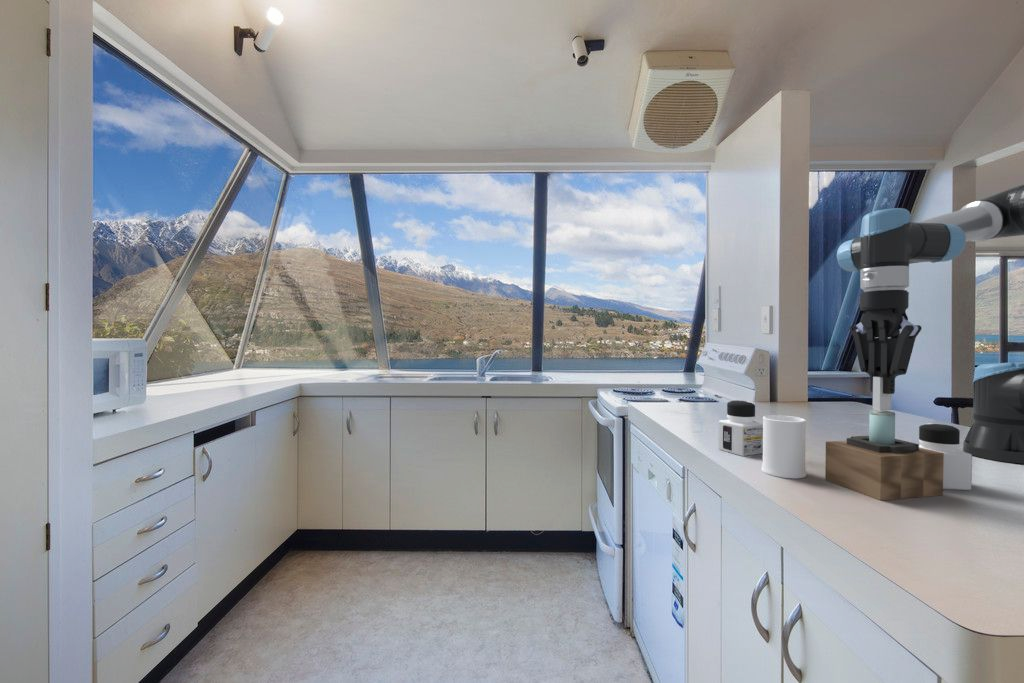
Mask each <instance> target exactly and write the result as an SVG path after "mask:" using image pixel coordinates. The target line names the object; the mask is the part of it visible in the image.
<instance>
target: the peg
mask: <svg viewBox="0 0 1024 683" xmlns="http://www.w3.org/2000/svg"><path fill="white" fill-rule="evenodd" d="M868 412H869V413H868V414H869V415H868V417H869V418H868V419H869V420H868V422H869V426H868V433H869V434H868V436H869V441H870V442H874V443H879V444H883V445H887V444H895V439H896V412H894V411H891V410H883V411H879V410H873V409H872V410H871V409H870V410H869V411H868Z"/></svg>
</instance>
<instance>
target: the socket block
mask: <svg viewBox="0 0 1024 683" xmlns="http://www.w3.org/2000/svg"><path fill="white" fill-rule="evenodd" d="M919 445H920V443H915V442H910V441H906V440H902V439H899V438H895V444H887V445H883V444H879V443H874V442H870V441H869V435H859V436H858V435H857V436H856V435H854V436H850V437H846V440H831V441H825V467H824V469H825V472H824V473H825V481H827V482H830V483H832V484H836V485H838V486H841V487H843V488H846V489H849V490H852V491H854V492H857V493H859V494H863V495H864V496H867V497H871V498H873V499H876V500H878V501H887V500H891V501H892V500H899V499H914V498H923V497H924V498H925V497H936V496H938V497H939V496H944V489H943V461H944V453H941V452H937V451H933V450H928V449H924V448H920V447H919Z"/></svg>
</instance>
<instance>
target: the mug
mask: <svg viewBox="0 0 1024 683" xmlns="http://www.w3.org/2000/svg"><path fill="white" fill-rule="evenodd" d="M806 422H807V421H806V419H805V418H802V417H798V416H792V415H791V416H790V415H784V414H783V415H781V414H779V415H778V414H769V415H764V416H763V417H762V423H763V453H762V465H761V472H763V473H765V474H766V475H769V476H771V477H772V476H773V477H777V478H783V479H794V480H796V479H803V478H806V477H807V472H806V471H807V470H806V428H807V427H806V424H807V423H806Z"/></svg>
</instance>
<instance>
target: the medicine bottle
mask: <svg viewBox="0 0 1024 683" xmlns="http://www.w3.org/2000/svg"><path fill="white" fill-rule="evenodd" d="M918 428H919V429H918V442H919V443H918V444H919V447H920V448H924V449H928V450H933V451H937V452H941V453H944V461H943V490H954V491H957V490H959V491H960V490H961V491H962V490H963V491H971V490H972V481H973V480H972V475H973V473H972V470H973V469H972V468H973V455H971V454H969V453H966V452H964V451H963V450H960V449H959V448H960V437H961V436H960V434H961V431H960V429H958V428H957V427H955V426H953V425H949V424H943V423H933V422H932V423H930V422H929V423H923V424H921V425H919V427H918Z"/></svg>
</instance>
